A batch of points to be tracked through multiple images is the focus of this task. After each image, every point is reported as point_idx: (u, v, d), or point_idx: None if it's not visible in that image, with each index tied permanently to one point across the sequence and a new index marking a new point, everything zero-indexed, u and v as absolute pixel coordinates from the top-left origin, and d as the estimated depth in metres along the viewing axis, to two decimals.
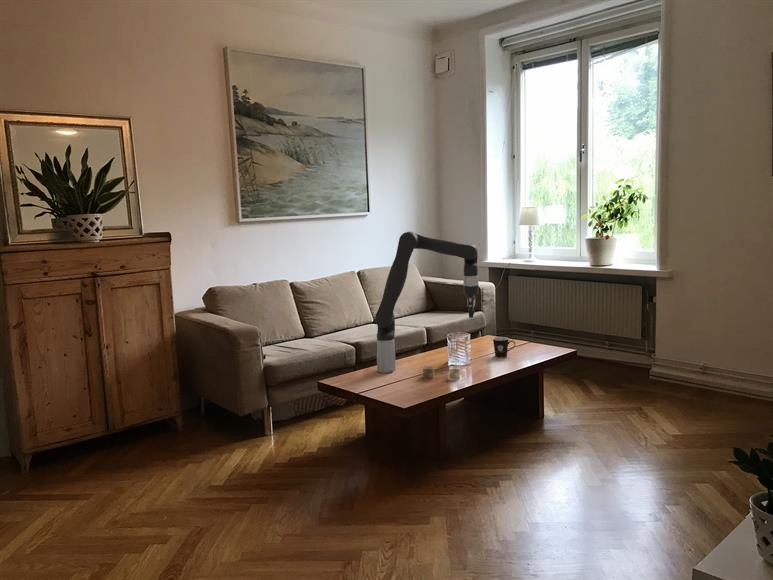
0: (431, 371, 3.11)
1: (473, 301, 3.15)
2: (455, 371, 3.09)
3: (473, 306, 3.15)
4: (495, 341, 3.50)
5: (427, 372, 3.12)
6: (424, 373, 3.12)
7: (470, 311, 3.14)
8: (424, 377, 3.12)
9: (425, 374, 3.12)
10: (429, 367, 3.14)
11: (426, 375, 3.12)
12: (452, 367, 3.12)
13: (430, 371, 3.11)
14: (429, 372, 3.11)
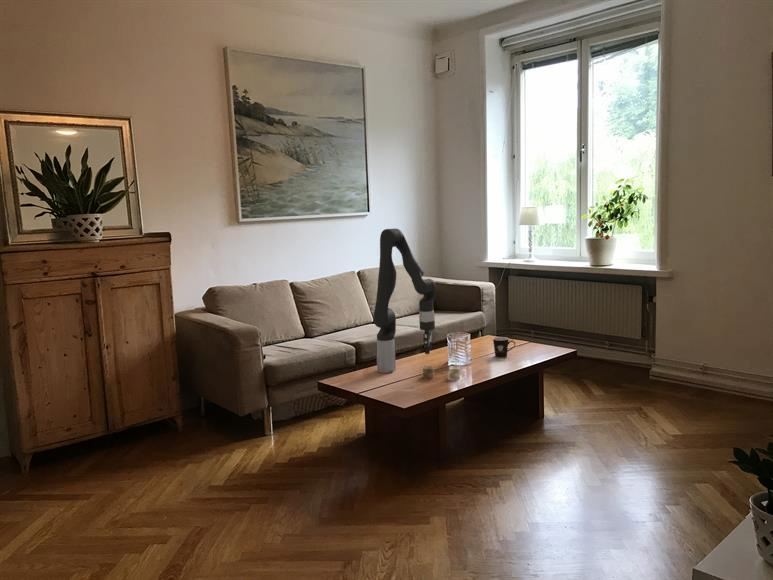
0: (431, 371, 3.11)
1: (429, 337, 3.08)
2: (455, 371, 3.09)
3: (429, 342, 3.08)
4: (495, 341, 3.50)
5: (427, 372, 3.12)
6: (424, 373, 3.12)
7: (426, 347, 3.07)
8: (424, 377, 3.12)
9: (425, 374, 3.12)
10: (429, 367, 3.14)
11: (426, 375, 3.12)
12: (452, 367, 3.12)
13: (430, 371, 3.11)
14: (429, 372, 3.11)
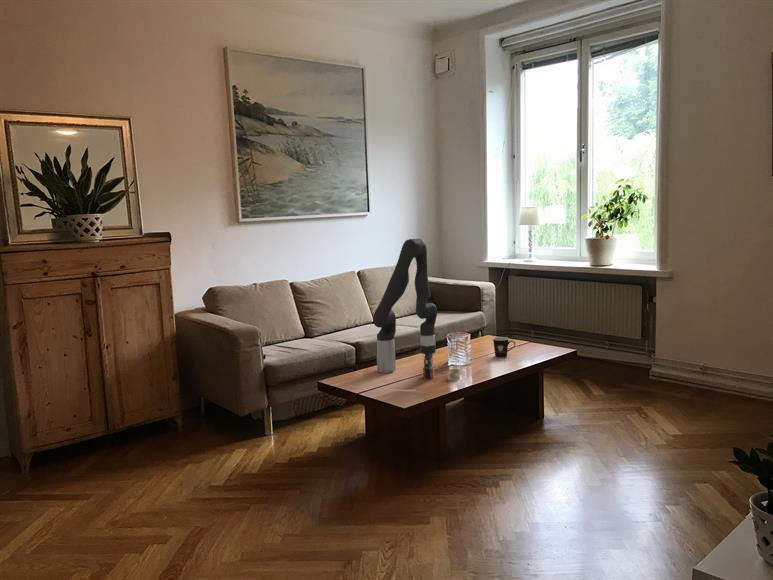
0: (431, 371, 3.11)
1: (430, 361, 3.10)
2: (455, 371, 3.09)
3: (430, 366, 3.11)
4: (495, 341, 3.50)
5: None
6: (424, 373, 3.12)
7: (427, 372, 3.10)
8: (424, 377, 3.12)
9: (425, 374, 3.12)
10: None
11: None
12: (452, 367, 3.12)
13: (430, 371, 3.11)
14: None
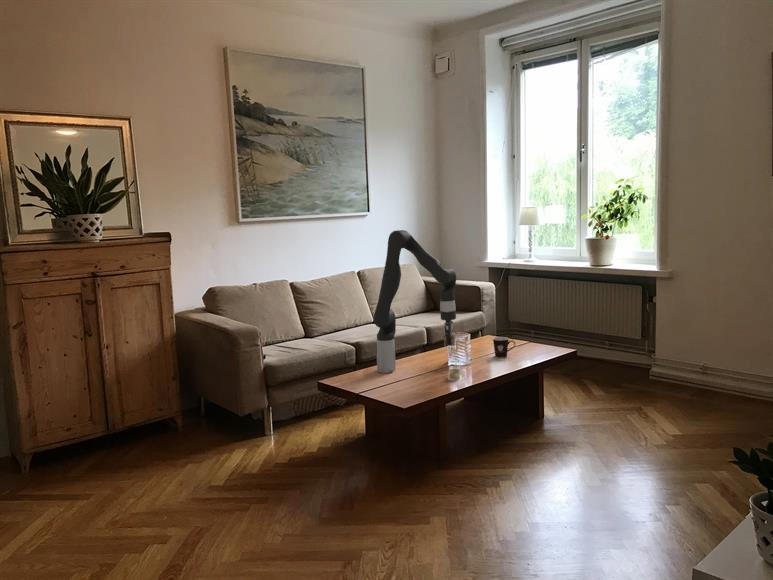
0: (452, 337, 3.06)
1: (450, 328, 3.06)
2: (455, 371, 3.09)
3: None
4: (495, 341, 3.50)
5: None
6: (445, 340, 3.07)
7: (448, 338, 3.05)
8: (445, 344, 3.07)
9: (445, 341, 3.07)
10: None
11: (446, 342, 3.07)
12: (452, 367, 3.12)
13: (451, 337, 3.06)
14: None
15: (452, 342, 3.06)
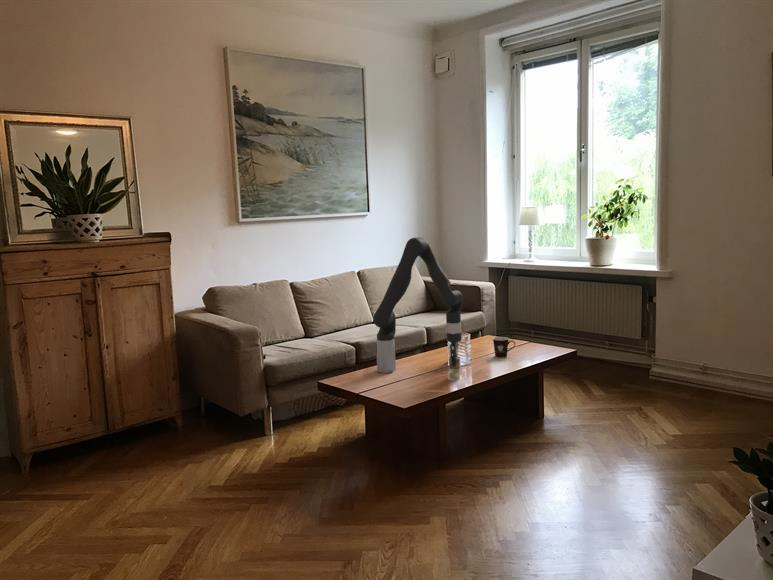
0: (458, 361, 3.08)
1: (456, 349, 3.07)
2: (455, 371, 3.09)
3: (456, 354, 3.06)
4: (495, 341, 3.50)
5: None
6: (450, 363, 3.09)
7: (453, 359, 3.05)
8: (450, 367, 3.09)
9: (451, 365, 3.09)
10: None
11: None
12: None
13: (456, 361, 3.08)
14: None
15: (457, 366, 3.08)
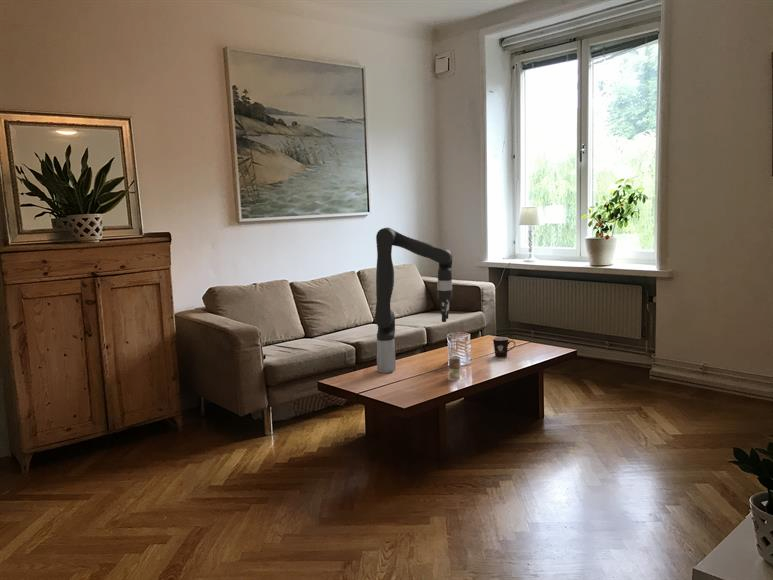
0: (458, 361, 3.08)
1: (446, 305, 3.17)
2: (455, 371, 3.09)
3: (446, 310, 3.17)
4: (495, 341, 3.50)
5: (453, 362, 3.08)
6: (450, 363, 3.09)
7: (443, 315, 3.16)
8: (450, 367, 3.09)
9: (451, 365, 3.09)
10: (455, 357, 3.11)
11: (452, 365, 3.09)
12: None
13: (456, 361, 3.08)
14: (455, 362, 3.08)
15: (457, 366, 3.08)
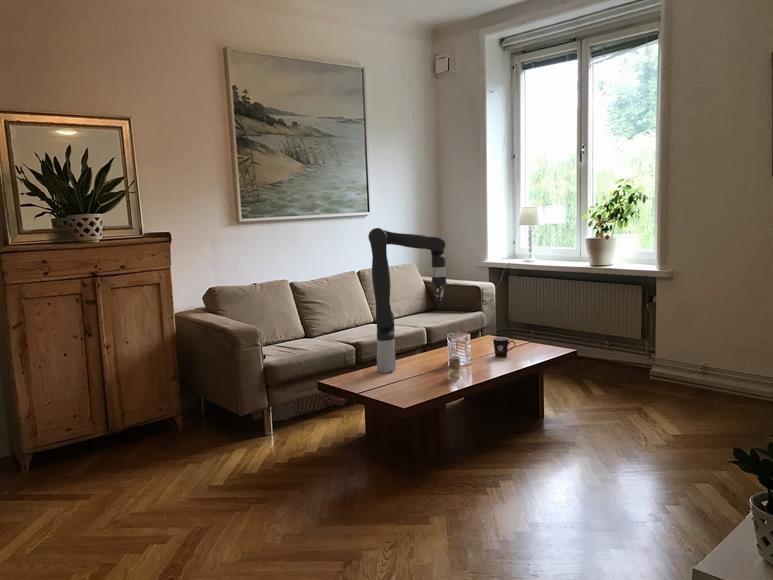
0: (458, 361, 3.08)
1: (441, 292, 3.26)
2: (455, 371, 3.09)
3: (441, 296, 3.25)
4: (495, 341, 3.50)
5: (453, 362, 3.08)
6: (450, 363, 3.09)
7: (438, 301, 3.24)
8: (450, 367, 3.09)
9: (451, 365, 3.09)
10: (455, 357, 3.11)
11: (452, 365, 3.09)
12: None
13: (456, 361, 3.08)
14: (455, 362, 3.08)
15: (457, 366, 3.08)
